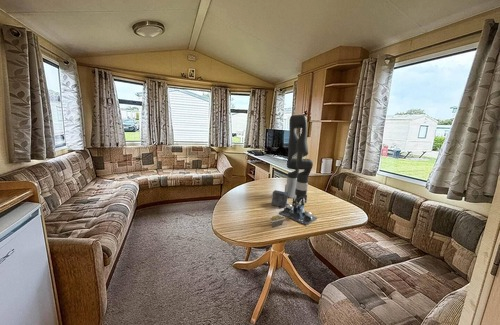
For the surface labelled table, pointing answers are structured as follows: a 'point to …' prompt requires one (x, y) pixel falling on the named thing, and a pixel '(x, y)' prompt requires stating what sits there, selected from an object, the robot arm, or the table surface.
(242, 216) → the table surface
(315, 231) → the table surface
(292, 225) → the table surface
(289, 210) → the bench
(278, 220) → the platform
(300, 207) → the block with round knob
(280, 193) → the small box
